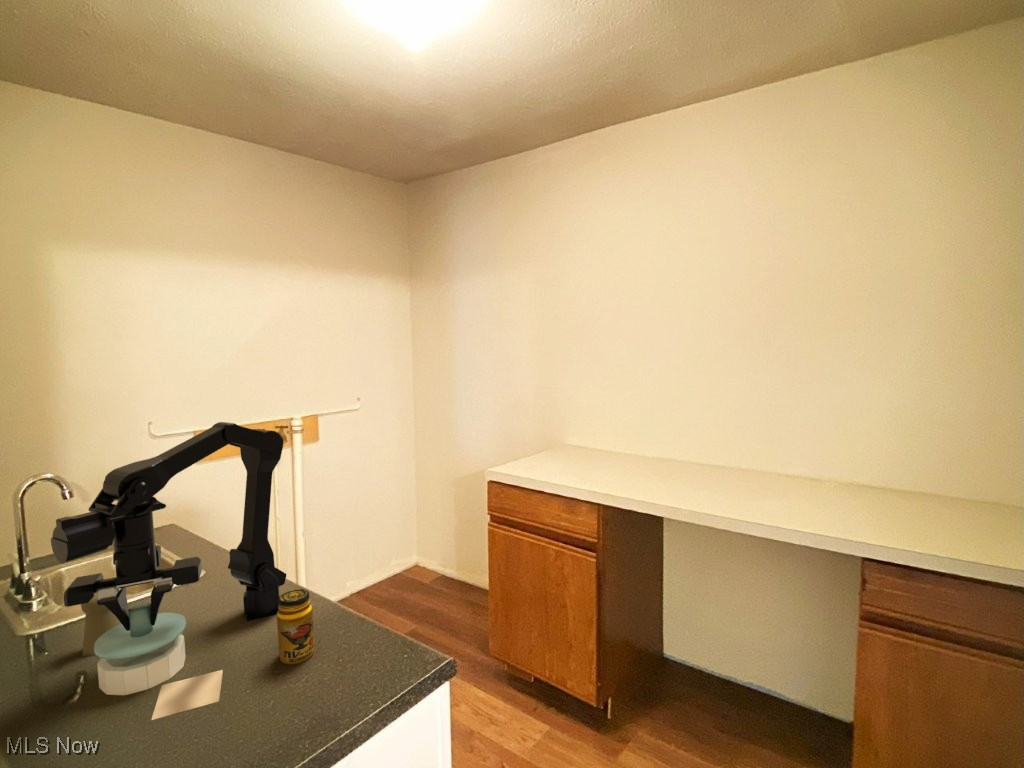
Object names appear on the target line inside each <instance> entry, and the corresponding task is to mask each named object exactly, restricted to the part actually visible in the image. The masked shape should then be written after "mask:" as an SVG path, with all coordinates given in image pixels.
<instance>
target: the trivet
mask: <svg viewBox="0 0 1024 768" xmlns="http://www.w3.org/2000/svg"><path fill="white" fill-rule="evenodd" d="M223 671H224V669H220V670H216V671H212V672H207V673H205V674H201V675H197V676H196V675H195V676H193V677H189V678H185V679H181V680H178V681H173V682H169V683H165V684H162V685H161V687H160V690H159V693H158V697H157V700H156V704H155V707H154V710H153V712H152V716H151V720H150V721H155V720H158V719H162V718H166V717H168V716H173V715H175V714H179V713H182V712H187V711H190V710H195V709H198V708H201V707H205V706H208V705H212V704H216V703H219V702H220V696H221V688H222V681H223V673H224V672H223Z"/></svg>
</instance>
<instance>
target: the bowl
mask: <svg viewBox="0 0 1024 768" xmlns="http://www.w3.org/2000/svg"><path fill="white" fill-rule="evenodd" d="M185 660H186V645H185V636H184V635H183V634H182V633H181V634H180V635H179V636H178V637H177V638H176V639H174V640H173V641H171V642H170V643H168V644H166V645H164V646H162V647H160V648H158V649H155V650H153V651H150V652H147V653H144V654H141V655H138V656H134V657H129V658H123V659H103V658H100V657H99V661H97V663H96V664H97V665H96V666H97V677H98V679H97V680H98V688H99V690H101V691H102V692H103V693H104V694H105V695H108V696H109V695H111V696H127V695H132V694H134V693H135V694H136V693H139V692H143V691H146V690H150V689H151V688H154V687H155V686H158V685H160V684H162V683H163V682H166V681H168V680H170V679H171V678H172V677H173V676H174V675H176V674H177V673H178V672H179V671H180V670H182V669H183V667H184V665H185Z"/></svg>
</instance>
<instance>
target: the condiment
mask: <svg viewBox="0 0 1024 768" xmlns="http://www.w3.org/2000/svg"><path fill="white" fill-rule="evenodd" d="M310 596H311V595H310V592H309V591H308V590H307V589H305V588H294V589H290V590H287V591H285V592H283V593H281V595H279V599H278V603H279V606H278V609H279V610H278V612H277V615H276V623H277V638H278V639H277V640H278V658H279V660H280V662H281V663H282V664H283V663H284V664H286V665H295V664H300V663H302V662H304V661H306V660H309V659H310V658H311V657H312V656H313V655H314V651H315V645H316V643H315V631H314V630H315V628H314V611H313V610H314V609H313V605H312V604H311V598H310Z"/></svg>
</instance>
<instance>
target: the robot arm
mask: <svg viewBox="0 0 1024 768" xmlns="http://www.w3.org/2000/svg"><path fill="white" fill-rule="evenodd" d="M280 434H281V433H279V432H277V431H275V430H269V429H268V430H267V429H258V428H248V427H246V426H242V425H238V424H237V423H234V422H224V421H219V422H216V423H214V424H213V425H212V426H211V427H210V428H208V429H206V430H205V429H204V431H202V432H200V433H198V434H197V435H194V436H193V437H191V438H188V439H187V440H185V441H183V442H180V443H179V444H177V445H176V446H174V447H172V448H170V449H168V450H166V451H164V452H161V454H158V455H157V456H156V455H155V456H153V457H151V458H147V459H142V460H139V461H134V462H131V463H128V464H125V465H122V466H120V467H117V468H114V469H113V470H111V471H109V472H108V473H107V474H106V475H105V477H104V481H103V482H102V488H101V489H100V491H99V493H98V494H97V496H96V497H95V499H94V500H93V502H92V503H91V504H90V506H89V507H88V512H85V513H81V514H77V515H73V516H63V517H60V518H59V517H58V518H56V520H55V527H54V529H53V531H52V537H51V538H50V544H51V549H52V553H53V555H54V557H55V559H56V560H57V561H58V562H59V563H60V564H65V563H68V562H71V561H74V560H77V559H78V560H79V559H82V558H83V557H88V556H90V555H95V554H97V553H101V552H104V551H106V550H107V549H108V548H109V547H110V546H113V552H112V553H113V555H112V563H113V565H114V566H115V576H116V577H111V578H105V579H104V575H103V574H102V573H101V572H99V573H95V574H89V575H83V576H77V577H76V578H74V579H73V581H72V582H71V583H70V584H69V586H68V587H67V588H66V589H65V591H64V593H63V603H64V605H63V606H64V607H66V608H67V607H68V608H69V607H74V606H79V605H80V606H81V604H85V603H88V602H89V601H90V600H91V599H92V598H93V597H94V593H98V601H97V605H105V606H106V607H107V608H108V609H109V610H110V611H111V612H112V613H113V614H114V615H115V616H116V619H117V621H119V623H120V624H122V625H123V626H124V628H125V629H126V630H127V631H129V630H130V624H129V612H128V610H129V603H128V599H127V588H130V587H134V586H139V585H145V584H151V583H153V588H152V590H151V592H150V604H151V624H152V626H153V625H155V622H156V619H157V615H158V613H160V612H159V611H160V608H161V604H162V601H163V598H164V596H165V594H166V593H170V592H171V591H172V590H173V588H174V585H175V586H179V587H180V586H182V585H183V586H184V585H190V584H194V583H197V582H199V581H200V578H201V574H202V571H203V565H202V559H201V558H200V557H198V556H193V557H188V558H182V559H176V560H175V562H174V565H173V566H172V567H166V568H162V569H158V567H159V568H160V566H161V563H162V545H157V544H156V539H155V538H156V537H155V526H154V514H153V512H155V511H159V510H164V509H165V508H166V507H167V504H165V503H163V502H162V501H159V500H158V499H157V497H155V495H157V494H158V493H159V492H161V491H162V490H163V489H164V488H165V487H166V485H167V484H168V483H169V481H171V479H172V478H174V477H175V476H176V475H177V474H179V473H181V472H182V471H184V470H186V469H188V468H189V467H191V466H192V465H195V464H197V463H198V462H200V461H202V460H203V459H205V458H207V457H209V456H211V455H212V454H214V453H216V452H217V451H219V450H221V449H222V448H224V447H226V446H228V445H230V446H232V447H236V448H239V449H240V451H239V452H240V458H241V460H242V463H243V466H244V468H245V470H246V480H245V481H246V482H245V493H244V508H243V521H242V522H243V523H242V535H241V540H240V542H239V544H238V545H237V547H236V548H231V549H230V550H229V563H228V566H227V569H228V570H230V575H231V576H232V577H233V578H234V579H235V580H237V581H238V582H239V584H240V585H241V586H245V592H244V593H243V596H242V597H243V601H242V602H243V614H244V616H245V617H246V621H248V622H250V621H254V620H259V619H263V618H267V617H272V616H277V612H278V610H279V609H278V606H279V603H278V599H279V597H280V587H281V586H283V585H285V583H286V578H287V573H285V572H284V571H282V570H280V569H279V568H278V567H276V565H275V556H274V555H275V554H274V551H273V549H272V546H271V544H270V542H269V541H270V540H269V524H270V523H269V522H270V510H271V499H272V498H271V497H272V483H273V473H274V470H275V468H276V467H277V465H278V464H279V462H280V461H281V459H282V458H281V457H282V453H283V449H284V438H283V436H281V435H280ZM114 502H117V503H116V504H115V503H114Z"/></svg>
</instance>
